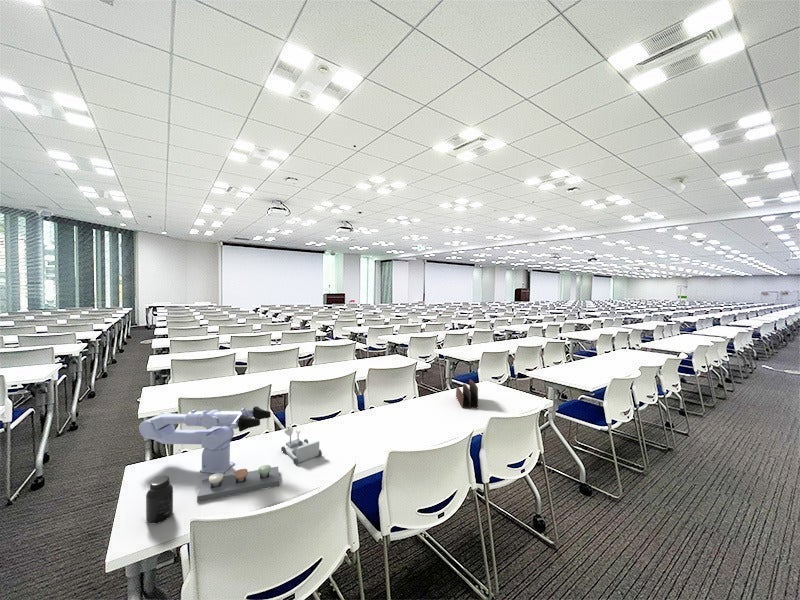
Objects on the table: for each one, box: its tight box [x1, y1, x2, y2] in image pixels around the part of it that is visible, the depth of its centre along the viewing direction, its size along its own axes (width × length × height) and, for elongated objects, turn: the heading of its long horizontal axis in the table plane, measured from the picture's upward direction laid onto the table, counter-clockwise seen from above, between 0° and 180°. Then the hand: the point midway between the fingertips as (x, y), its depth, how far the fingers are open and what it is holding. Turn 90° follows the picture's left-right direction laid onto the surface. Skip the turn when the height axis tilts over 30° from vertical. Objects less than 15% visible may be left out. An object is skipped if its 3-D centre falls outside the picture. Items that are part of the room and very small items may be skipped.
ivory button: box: [208, 473, 224, 487], centre depth 117 cm, size 4×4×3 cm
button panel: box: [196, 466, 280, 502], centre depth 120 cm, size 26×10×2 cm, turn 113°
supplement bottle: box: [145, 475, 174, 524], centre depth 103 cm, size 7×7×12 cm
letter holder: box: [455, 378, 479, 409], centre depth 213 cm, size 10×20×14 cm, turn 2°
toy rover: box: [280, 427, 323, 466], centre depth 144 cm, size 18×10×12 cm
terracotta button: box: [233, 468, 249, 482], centre depth 120 cm, size 4×4×3 cm
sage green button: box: [257, 464, 272, 478], centre depth 123 cm, size 4×4×3 cm
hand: (265, 418), depth 127 cm, fingers open, 7 cm apart
